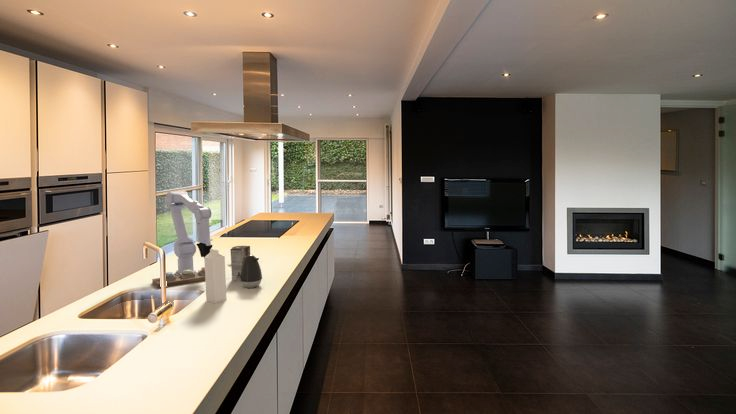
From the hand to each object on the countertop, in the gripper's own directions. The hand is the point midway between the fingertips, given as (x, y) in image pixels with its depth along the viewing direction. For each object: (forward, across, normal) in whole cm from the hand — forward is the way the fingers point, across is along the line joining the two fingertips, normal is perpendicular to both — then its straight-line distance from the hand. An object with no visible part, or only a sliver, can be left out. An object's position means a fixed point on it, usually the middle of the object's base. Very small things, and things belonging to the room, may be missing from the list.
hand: (205, 257), depth 226 cm
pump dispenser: (+11, -31, -12) cm, 35 cm away
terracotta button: (+7, 0, 0) cm, 7 cm away
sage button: (+7, 0, +9) cm, 11 cm away
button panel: (+10, 0, +9) cm, 14 cm away
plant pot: (+11, +26, -28) cm, 40 cm away
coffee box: (+11, -13, -14) cm, 22 cm away
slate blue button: (+7, 0, +18) cm, 19 cm away
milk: (+11, -42, +8) cm, 44 cm away
